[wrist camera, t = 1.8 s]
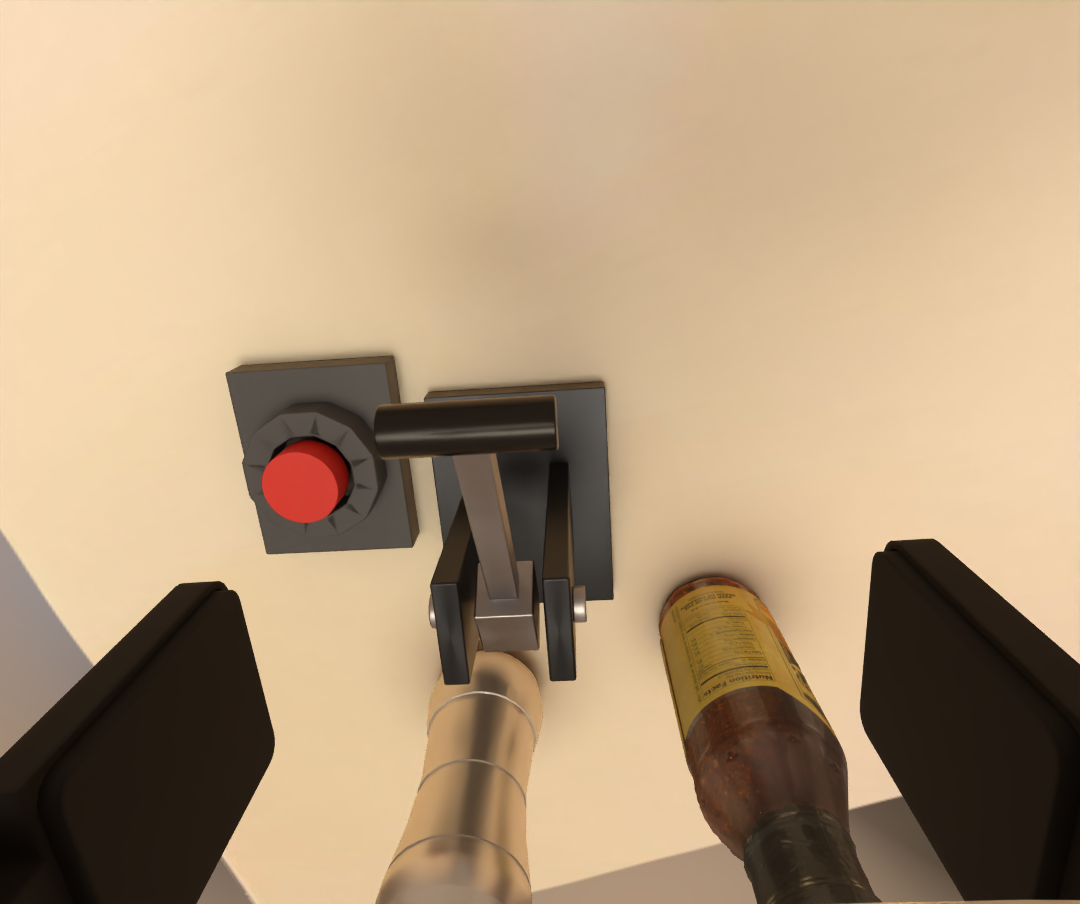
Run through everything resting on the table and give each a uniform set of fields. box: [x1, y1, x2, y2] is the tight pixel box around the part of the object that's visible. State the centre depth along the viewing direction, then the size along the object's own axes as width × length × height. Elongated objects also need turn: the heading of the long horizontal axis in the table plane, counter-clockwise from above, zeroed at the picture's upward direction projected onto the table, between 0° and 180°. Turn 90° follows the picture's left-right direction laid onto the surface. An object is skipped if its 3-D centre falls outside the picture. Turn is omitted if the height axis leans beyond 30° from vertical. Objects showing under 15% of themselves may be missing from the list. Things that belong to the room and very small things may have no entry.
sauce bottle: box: [659, 577, 883, 904], centre depth 30 cm, size 7×6×20 cm
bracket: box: [424, 382, 614, 685], centre depth 31 cm, size 12×9×13 cm
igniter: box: [226, 356, 419, 554], centre depth 35 cm, size 10×8×4 cm
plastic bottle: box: [375, 650, 543, 904], centre depth 32 cm, size 6×7×20 cm
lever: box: [374, 395, 559, 652], centre depth 23 cm, size 12×5×2 cm, turn 3°
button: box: [262, 440, 349, 523], centre depth 33 cm, size 4×4×2 cm
